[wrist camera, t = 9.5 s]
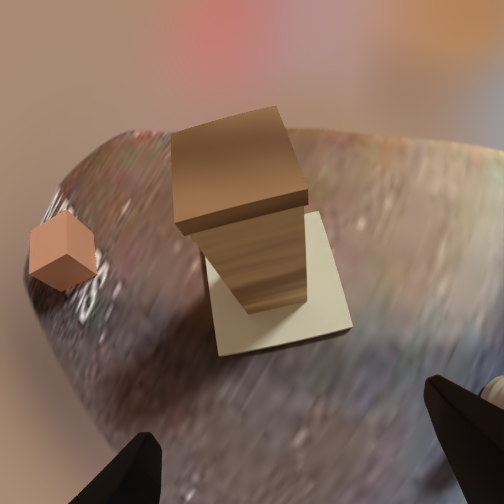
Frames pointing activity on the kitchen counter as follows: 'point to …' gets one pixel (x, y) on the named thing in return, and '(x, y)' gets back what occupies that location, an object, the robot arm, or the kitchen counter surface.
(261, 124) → the brown block
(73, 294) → the kitchen counter surface
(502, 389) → the rook chess piece
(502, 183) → the kitchen counter surface
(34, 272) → the terracotta block
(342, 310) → the pad
